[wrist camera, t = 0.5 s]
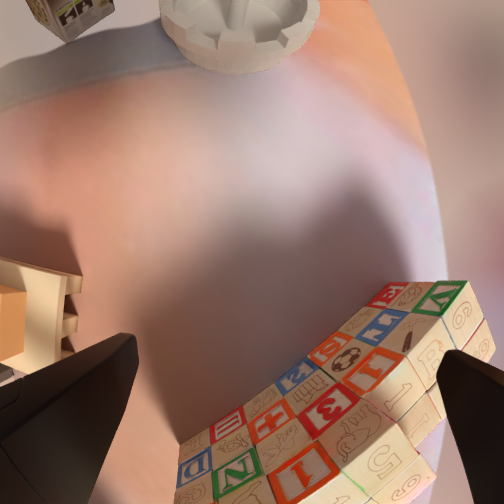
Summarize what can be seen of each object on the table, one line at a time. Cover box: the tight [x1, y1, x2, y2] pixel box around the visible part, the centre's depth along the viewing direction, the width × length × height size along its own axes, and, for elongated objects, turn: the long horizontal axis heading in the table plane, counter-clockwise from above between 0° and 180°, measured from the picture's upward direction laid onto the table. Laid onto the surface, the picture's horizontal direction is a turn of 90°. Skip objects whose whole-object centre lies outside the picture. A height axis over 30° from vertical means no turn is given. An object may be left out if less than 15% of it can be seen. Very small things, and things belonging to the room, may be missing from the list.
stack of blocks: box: [174, 281, 496, 504], centre depth 16 cm, size 21×6×12 cm, turn 128°
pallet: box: [0, 257, 83, 374], centre depth 17 cm, size 7×10×4 cm
